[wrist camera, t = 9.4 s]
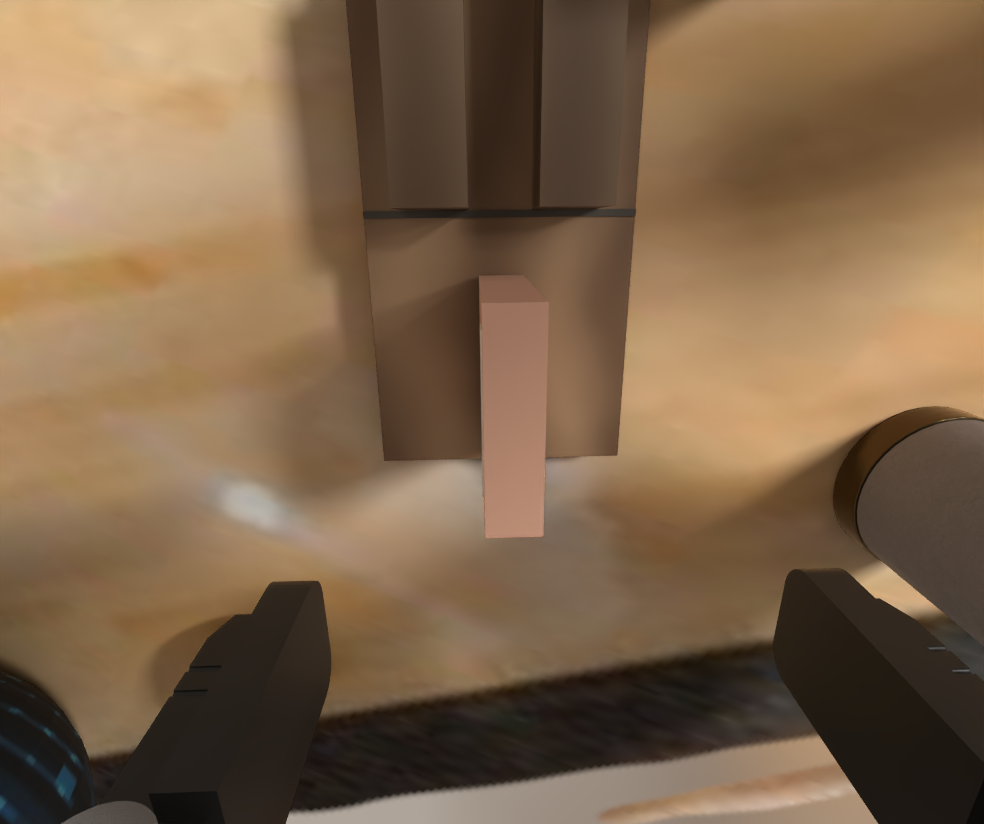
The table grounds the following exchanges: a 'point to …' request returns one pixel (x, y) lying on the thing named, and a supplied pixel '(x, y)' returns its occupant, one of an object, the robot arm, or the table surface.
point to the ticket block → (497, 203)
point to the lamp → (922, 506)
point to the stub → (513, 404)
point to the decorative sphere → (39, 759)
